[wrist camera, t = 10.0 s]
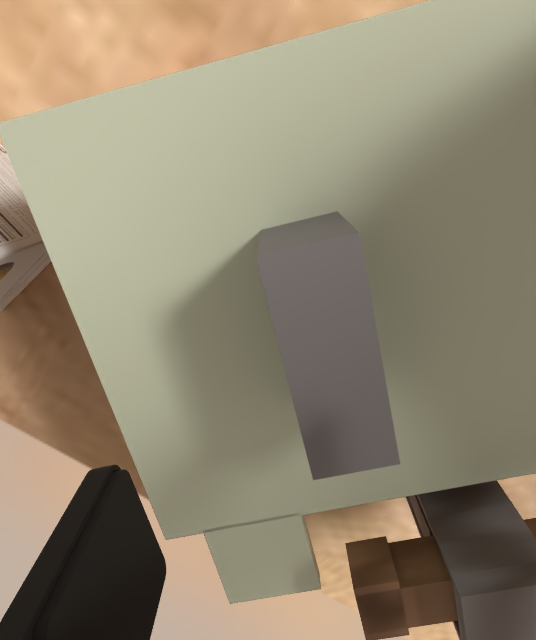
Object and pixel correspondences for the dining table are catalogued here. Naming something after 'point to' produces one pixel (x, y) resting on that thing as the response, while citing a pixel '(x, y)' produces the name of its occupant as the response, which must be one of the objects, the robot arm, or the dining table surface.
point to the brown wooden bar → (402, 584)
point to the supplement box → (17, 236)
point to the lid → (306, 272)
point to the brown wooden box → (483, 559)
